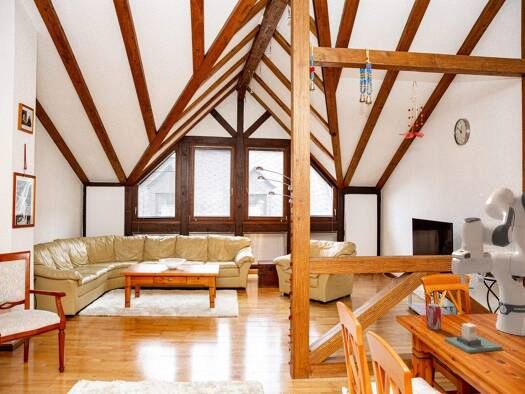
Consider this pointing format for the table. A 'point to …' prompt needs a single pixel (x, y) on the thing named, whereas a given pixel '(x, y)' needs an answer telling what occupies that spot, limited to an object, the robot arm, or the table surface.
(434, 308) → the soda can
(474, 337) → the plug
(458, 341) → the board
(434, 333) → the table surface
